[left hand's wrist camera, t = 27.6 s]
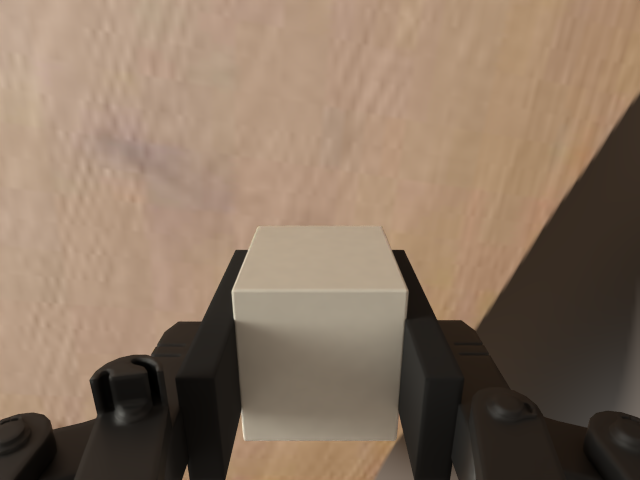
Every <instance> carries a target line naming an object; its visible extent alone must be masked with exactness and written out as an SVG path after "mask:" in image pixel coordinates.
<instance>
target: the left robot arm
mask: <svg viewBox="0 0 640 480" xmlns="http://www.w3.org/2000/svg"><path fill="white" fill-rule="evenodd" d="M247 252H248V250H236V251H235V253H234V255H233V257H232V259H231V261H230V263H229V265H228V267H227V270H226V272H225V274H224V276H223V278H222V280H221V282H220V284H219V286H218V289H217V291H216V293H215V295H214V297H213V299H212V301H211V303H210V305H209V307H208V310H207V312H206V314H205V316H204V318H203V320H202V322H177V323H176V324H175V325H173V326H172V327H171V328H170V329H168V330H167V331H166V332H164V334H163V336H162V337H161V339H160V341H159V342H158V344H157V347H155V349H154V351H153V353H152V354H151V356H149V355H130V356H126V357H121V358H118V359H116V360H114V361H111V362H109V363H107V364H105V365H104V366H103V367H101V368H100V369H98V370H97V371H96V372H95V373H94V375H93V376H92V377H91V379H90V385H91V389H92V393H93V398H94V402H95V406H96V411H97V418H96V419H93V420H90V421H87V422H83V423H79V424H75V425H71V426H66V427H62V428H58V429H52V425H51V422H50V420H49V419H48V418H47V417H46V416H45V415H42V414H37V413H25V414H17V415H14V416H11V417H8V418H5V419H2V420H0V480H182V478H183V475H184V472H185V469H186V466H187V464H188V471H189V478H190V480H225V479H226V474H227V470H228V466H229V462H230V457H231V453H232V449H233V444H234V440H235V436H236V431H237V427H238V423H239V418H240V414H241V410H242V409H241V396H240V384H239V372H238V359H237V347H236V334H235V322H234V315H233V303H232V289H233V286H234V284H235V282H236V279H237V277H238V274H239V272H240V269H241V267H242V264H243V262H244V259H245V257H246V254H247ZM392 252H393V254H394V257H395V259H396V262H397V264H398V267H399V269H400V271H401V274H402V276H403V279H404V281H405V283H406V286H407V288H408V291H409V293H408V306H407V318H406V319H405V330H404V343H403V355H402V368H401V380H400V392H399V405H398V411H399V416H400V420H401V424H402V428H403V433H404V437H405V441H406V445H407V450H408V454H409V459H410V463H411V467H412V472H413V476H414V480H450V476H451V469H452V462H453V465H454V468H455V471H456V474H457V476H458V479H459V480H640V418H638V417H635V416H632V415H628V414H625V413H622V412H614V411H604V412H599V413H596V414H595V415H594V416H592V417H591V418H590V421H589V424H588V428H585V427H581V426H577V425H572V424H568V423H564V422H559V421H556V420H552V419H549V418H546V417H544V416H543V414H542V413H541V411H540V410H539V408H538V406H537V405H536V404H535V403H534V402H532V401H531V400H530V399H529V398H527V397H526V396H524V395H522V394H520V393H518V392H516V391H514V390H511V389H510V388H509V386H508V384H507V383H506V381H505V380H504V378H503V376H502V375H501V373H500V371H499V370H498V368H497V366H496V365H495V363H494V361H493V360H492V358H491V356H489V354H488V351H487V350H486V348H485V346H484V345H483V344H482V341H481V340H480V338H479V336H478V335H477V333H476V331H475V330H473V329H472V328H471V327H469V326H468V325H467V324H465V323H464V322H463V321H461V320H437V319H436V317H435V315H434V312H433V310H432V308H431V306H430V304H429V302H428V300H427V298H426V296H425V293H424V291H423V289H422V287H421V285H420V283H419V281H418V279H417V277H416V275H415V272H414V270H413V268H412V266H411V264H410V262H409V260H408V258H407V256H406V253H405V251H404V250H392Z"/></svg>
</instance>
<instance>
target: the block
mask: <svg viewBox="0 0 640 480" xmlns="http://www.w3.org/2000/svg"><path fill="white" fill-rule="evenodd" d="M408 293H409V291H408V288H407V286H406V283H405V281H404V279H403V276H402V274H401V271H400V269H399V267H398V264H397V262H396V259H395V257H394V254H393V252H392V250H391V247H390V245H389V242H388V240H387V237H386V235H385V233H384V230H383V228H382V226H258V227H257V230H256V232H255V235H254V237H253V240H252V242H251V245H250V247H249V250H248V252H247V254H246V257H245V259H244V262H243V264H242V267H241V269H240V272H239V274H238V277H237V279H236V282H235V284H234V286H233V289H232V303H233V315H234V322H235V334H236V347H237V359H238V372H239V384H240V396H241V409H242V410H241V415H242V427H243V438H244V440H245V441H395V440H396V438H397V428H398V416H399V411H398V405H399V392H400V380H401V368H402V355H403V343H404V330H405V319H406V318H407V306H408Z"/></svg>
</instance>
